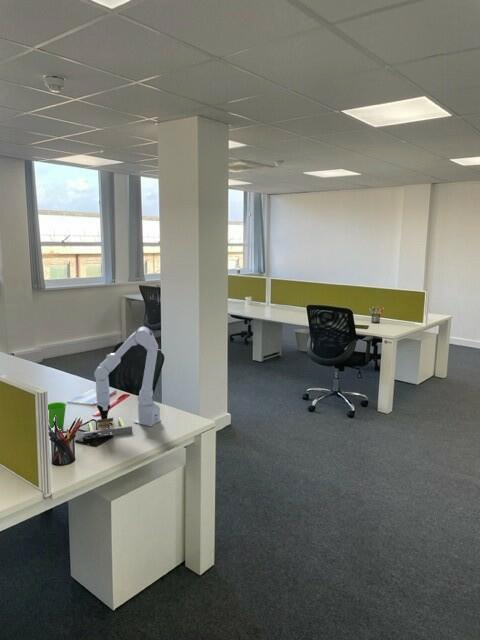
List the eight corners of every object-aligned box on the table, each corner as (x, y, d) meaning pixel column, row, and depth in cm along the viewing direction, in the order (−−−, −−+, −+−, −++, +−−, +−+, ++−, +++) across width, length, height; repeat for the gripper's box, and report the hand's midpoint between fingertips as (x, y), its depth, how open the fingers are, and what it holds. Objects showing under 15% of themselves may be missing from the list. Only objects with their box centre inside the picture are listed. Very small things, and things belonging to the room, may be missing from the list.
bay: (81, 428, 211) (81, 421, 211) (127, 421, 219) (126, 415, 219) (84, 440, 199) (84, 433, 199) (132, 432, 207) (132, 426, 206)
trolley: (97, 427, 213) (96, 419, 212) (113, 424, 215) (112, 417, 215) (99, 435, 203) (99, 428, 203) (116, 433, 206) (116, 425, 205)
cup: (60, 434, 205) (59, 410, 203) (41, 432, 207) (40, 408, 205) (71, 426, 214) (70, 402, 212) (53, 424, 215) (52, 401, 213)
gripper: (91, 388, 219) (93, 415, 222) (95, 398, 206) (97, 427, 209) (107, 386, 222) (108, 413, 225) (112, 396, 209) (113, 424, 211)
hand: (104, 420), depth 217 cm, fingers closed
